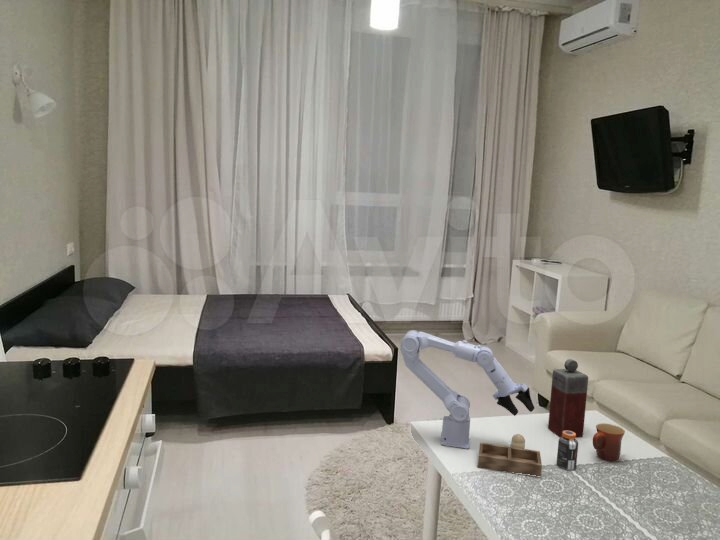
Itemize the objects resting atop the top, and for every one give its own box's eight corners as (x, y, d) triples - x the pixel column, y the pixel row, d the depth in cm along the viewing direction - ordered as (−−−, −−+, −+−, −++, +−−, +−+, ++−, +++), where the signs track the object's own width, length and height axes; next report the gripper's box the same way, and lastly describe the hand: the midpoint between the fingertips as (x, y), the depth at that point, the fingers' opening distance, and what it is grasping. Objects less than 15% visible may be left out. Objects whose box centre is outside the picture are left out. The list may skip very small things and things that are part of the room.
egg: (510, 452, 178) (512, 436, 178) (510, 447, 183) (512, 431, 182) (524, 454, 177) (525, 438, 177) (524, 449, 181) (525, 432, 181)
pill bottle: (577, 471, 167) (581, 437, 165) (558, 469, 168) (561, 435, 167) (574, 462, 173) (577, 429, 171) (555, 460, 174) (557, 427, 172)
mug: (604, 450, 183) (607, 421, 182) (627, 461, 175) (630, 431, 174) (580, 456, 178) (583, 427, 176) (603, 468, 170) (606, 437, 169)
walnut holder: (477, 467, 167) (478, 455, 166) (479, 453, 176) (479, 442, 176) (540, 477, 162) (541, 465, 161) (538, 463, 172) (539, 451, 171)
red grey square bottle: (564, 424, 204) (571, 354, 201) (583, 437, 193) (590, 362, 190) (544, 426, 202) (550, 354, 199) (561, 438, 191) (568, 363, 188)
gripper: (521, 367, 175) (545, 400, 174) (492, 377, 187) (515, 408, 186) (510, 378, 171) (535, 413, 170) (481, 388, 182) (505, 420, 181)
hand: (524, 411), depth 178 cm, fingers open, 7 cm apart
